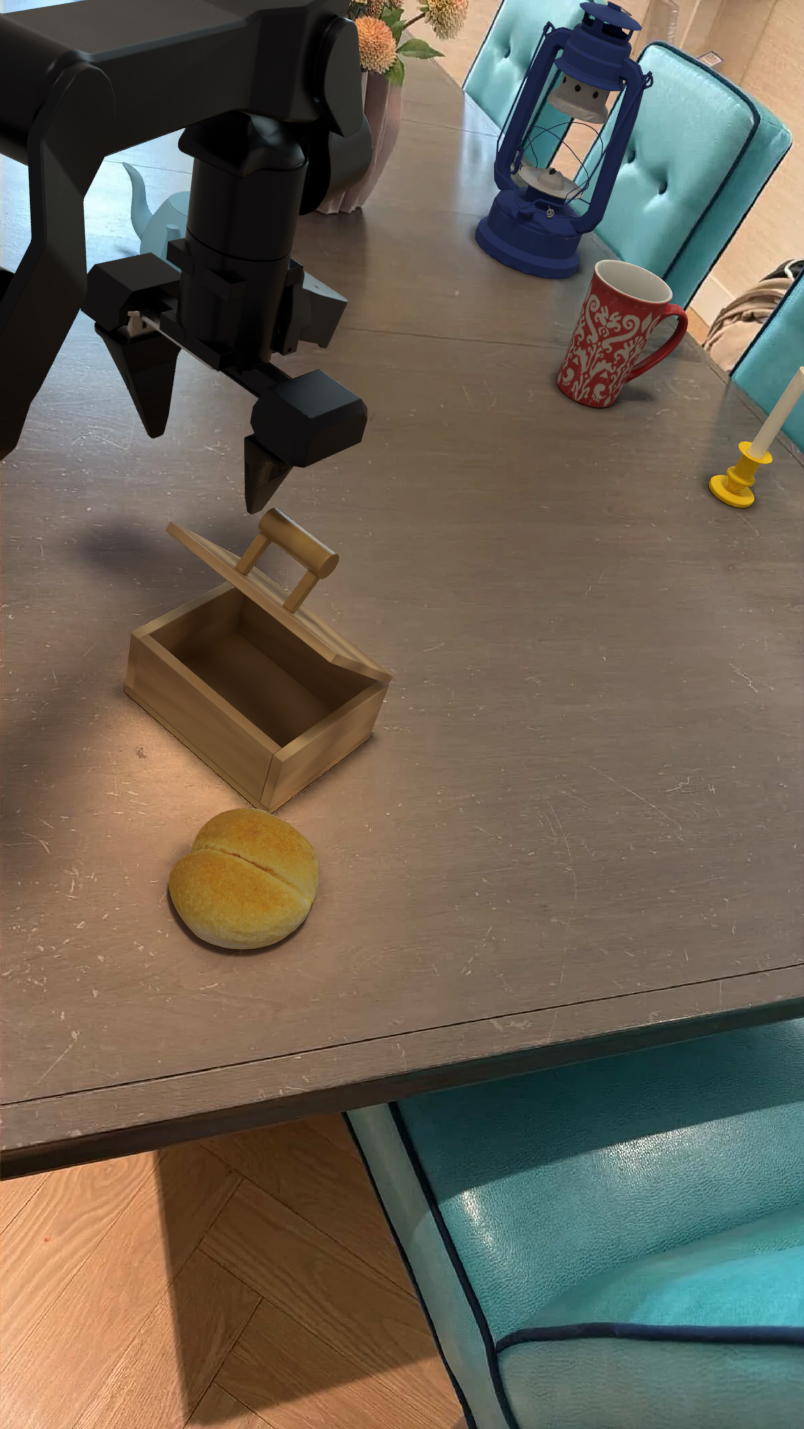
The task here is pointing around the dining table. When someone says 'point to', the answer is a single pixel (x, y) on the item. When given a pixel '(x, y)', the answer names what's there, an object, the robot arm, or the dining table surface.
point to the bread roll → (245, 880)
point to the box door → (274, 596)
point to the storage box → (249, 695)
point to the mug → (616, 332)
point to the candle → (756, 451)
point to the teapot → (157, 217)
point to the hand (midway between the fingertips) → (204, 473)
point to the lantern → (537, 218)
